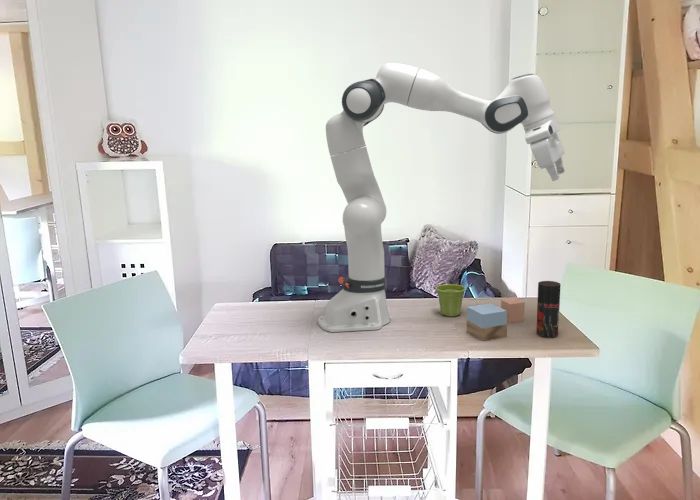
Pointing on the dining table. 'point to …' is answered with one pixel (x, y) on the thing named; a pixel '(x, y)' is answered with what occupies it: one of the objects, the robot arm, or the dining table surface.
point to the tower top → (486, 315)
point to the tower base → (486, 331)
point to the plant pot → (450, 298)
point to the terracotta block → (513, 309)
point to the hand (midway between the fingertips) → (559, 176)
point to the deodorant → (548, 309)
